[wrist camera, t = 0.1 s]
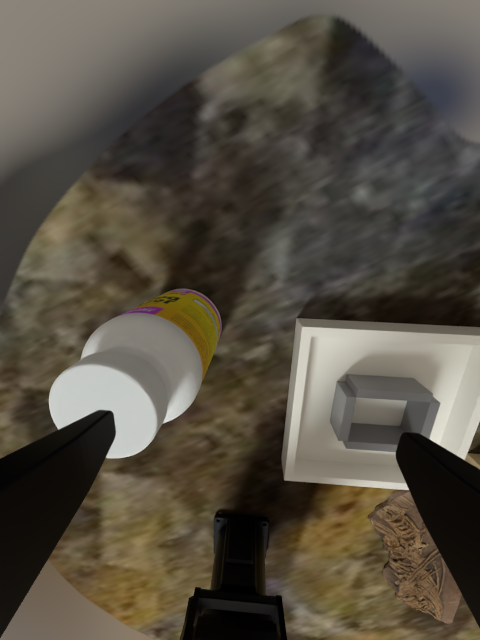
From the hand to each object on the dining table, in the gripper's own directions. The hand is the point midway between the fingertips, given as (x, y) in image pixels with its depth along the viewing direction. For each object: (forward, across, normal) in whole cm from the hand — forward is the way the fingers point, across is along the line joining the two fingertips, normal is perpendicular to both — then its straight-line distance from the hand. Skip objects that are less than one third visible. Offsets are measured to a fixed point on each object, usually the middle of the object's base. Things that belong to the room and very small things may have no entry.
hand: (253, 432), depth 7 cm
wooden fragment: (+15, -23, +30) cm, 41 cm away
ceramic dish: (+15, -12, +8) cm, 21 cm away
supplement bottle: (+15, +6, +1) cm, 16 cm away
